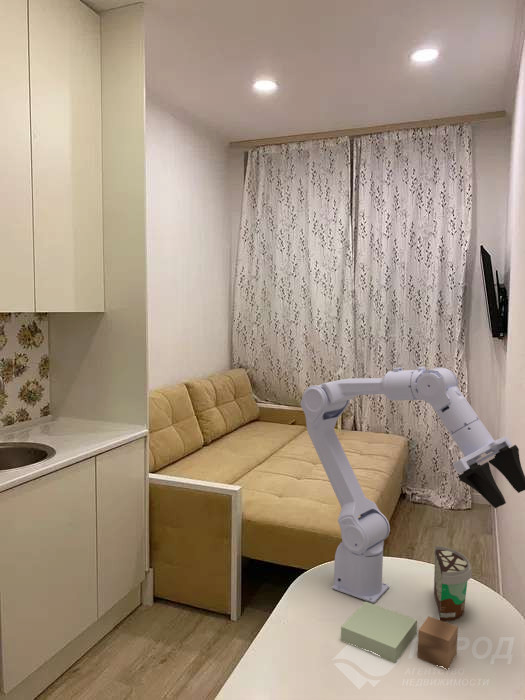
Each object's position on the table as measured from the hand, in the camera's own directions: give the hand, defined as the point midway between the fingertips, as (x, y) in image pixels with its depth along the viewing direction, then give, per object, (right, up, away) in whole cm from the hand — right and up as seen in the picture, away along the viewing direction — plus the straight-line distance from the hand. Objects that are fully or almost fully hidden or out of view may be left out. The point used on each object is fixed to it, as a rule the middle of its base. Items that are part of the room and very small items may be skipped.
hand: (512, 497), depth 89 cm
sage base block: (-21, -27, +5) cm, 35 cm away
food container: (-5, -26, +14) cm, 30 cm away
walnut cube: (-13, -27, 0) cm, 30 cm away
